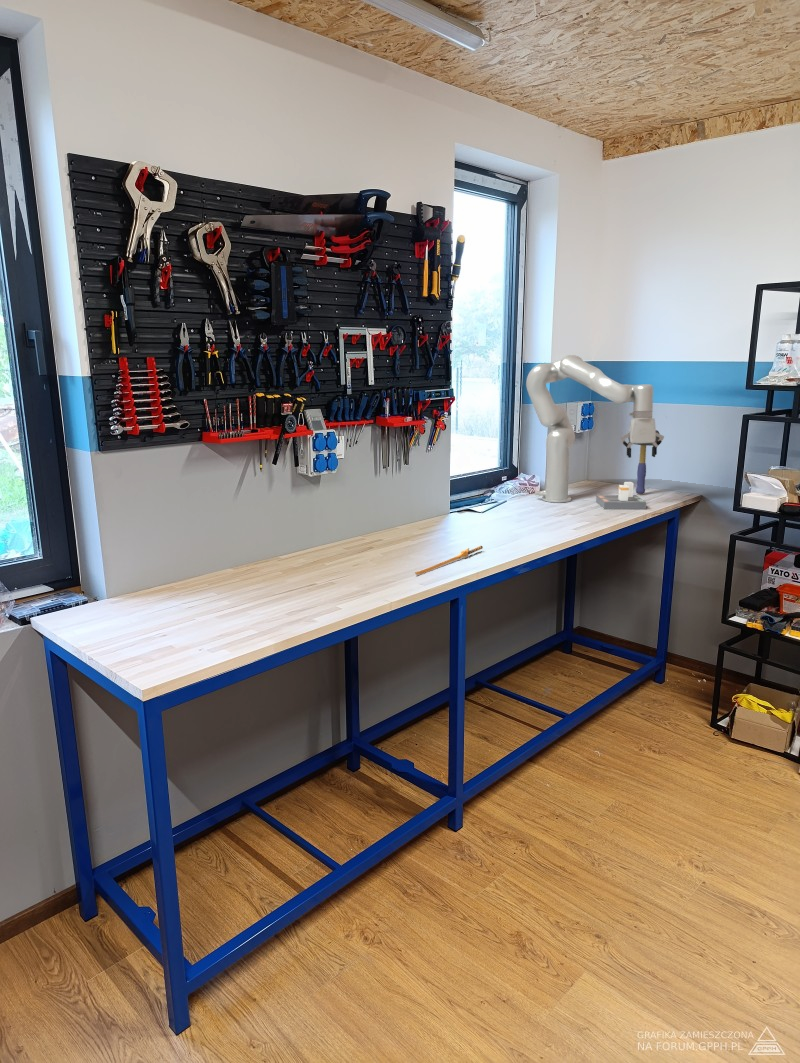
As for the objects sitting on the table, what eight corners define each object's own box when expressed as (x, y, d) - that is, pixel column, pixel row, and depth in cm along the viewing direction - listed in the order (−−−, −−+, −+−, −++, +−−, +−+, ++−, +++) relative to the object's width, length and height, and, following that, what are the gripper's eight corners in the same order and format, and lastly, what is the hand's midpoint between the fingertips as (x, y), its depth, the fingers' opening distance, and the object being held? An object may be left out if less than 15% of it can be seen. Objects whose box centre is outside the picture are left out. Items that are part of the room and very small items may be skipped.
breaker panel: (604, 509, 298) (605, 487, 296) (596, 501, 314) (597, 481, 311) (645, 509, 297) (647, 487, 295) (635, 502, 312) (637, 481, 310)
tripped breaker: (620, 500, 299) (621, 486, 297) (618, 499, 303) (618, 484, 301) (627, 500, 299) (628, 486, 297) (625, 499, 302) (626, 484, 301)
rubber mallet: (623, 494, 331) (627, 428, 324) (631, 491, 336) (635, 427, 329) (649, 497, 323) (654, 430, 316) (656, 495, 328) (661, 428, 321)
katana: (413, 580, 209) (413, 571, 208) (479, 550, 235) (479, 542, 234) (417, 580, 208) (416, 571, 207) (482, 551, 234) (482, 543, 233)
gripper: (622, 416, 291) (621, 458, 295) (666, 415, 289) (665, 457, 293) (619, 415, 299) (618, 456, 302) (662, 413, 297) (661, 455, 300)
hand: (641, 457), depth 298 cm, fingers open, 9 cm apart
